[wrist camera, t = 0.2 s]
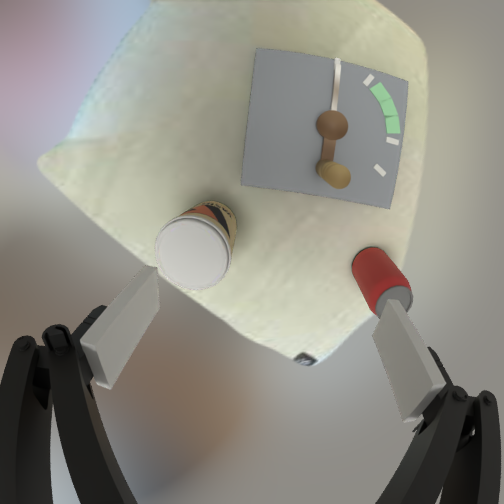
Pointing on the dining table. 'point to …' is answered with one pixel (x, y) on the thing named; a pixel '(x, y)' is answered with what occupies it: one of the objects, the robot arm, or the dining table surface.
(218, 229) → the coffee cup
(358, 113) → the board
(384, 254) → the beer can
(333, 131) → the peg dial
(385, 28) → the dining table surface
